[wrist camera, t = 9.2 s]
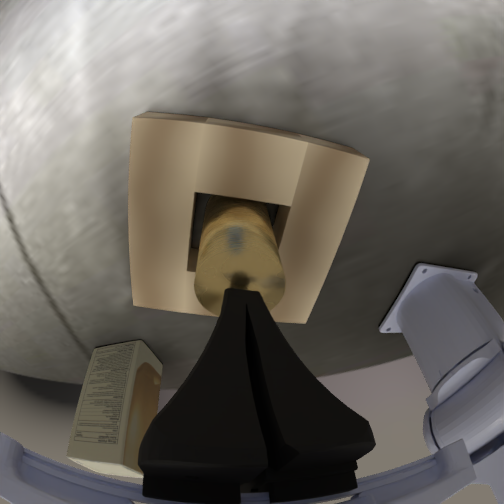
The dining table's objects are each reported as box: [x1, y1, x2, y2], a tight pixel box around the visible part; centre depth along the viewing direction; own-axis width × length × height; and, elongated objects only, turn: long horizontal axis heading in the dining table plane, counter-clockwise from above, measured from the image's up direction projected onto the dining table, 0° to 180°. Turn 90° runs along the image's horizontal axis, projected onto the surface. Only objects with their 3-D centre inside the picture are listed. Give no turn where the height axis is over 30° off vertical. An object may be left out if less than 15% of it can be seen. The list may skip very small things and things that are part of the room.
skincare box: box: [67, 340, 163, 478], centre depth 20 cm, size 6×4×12 cm
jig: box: [128, 112, 370, 323], centre depth 17 cm, size 12×12×2 cm
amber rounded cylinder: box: [194, 194, 286, 316], centre depth 15 cm, size 4×4×7 cm
